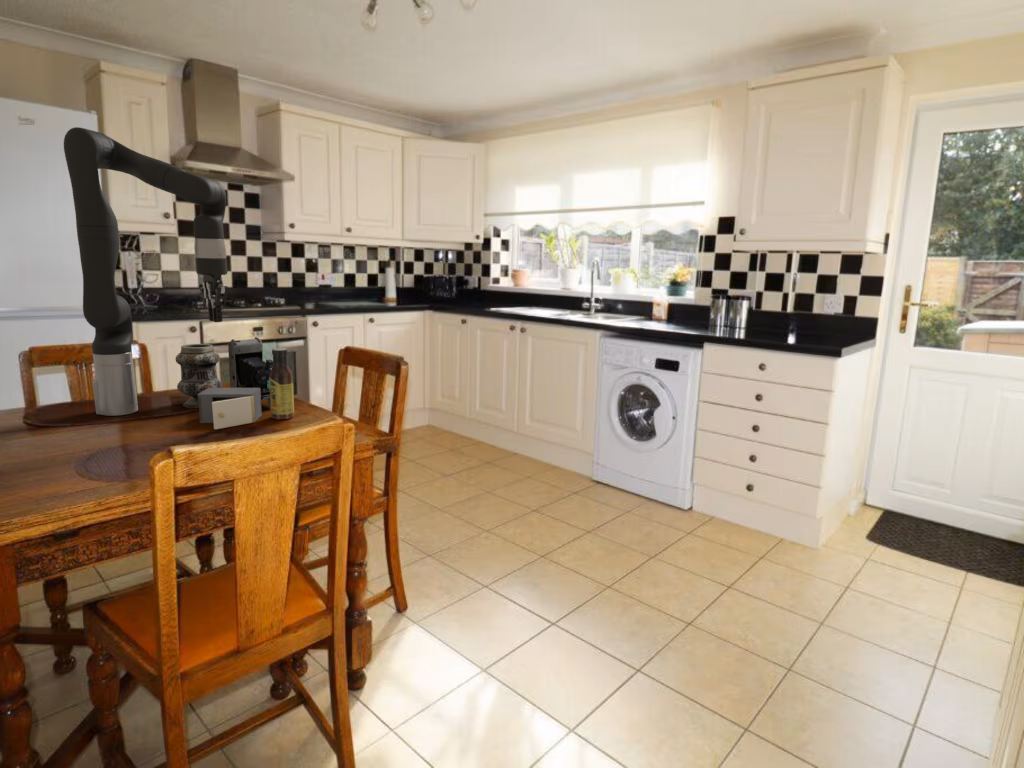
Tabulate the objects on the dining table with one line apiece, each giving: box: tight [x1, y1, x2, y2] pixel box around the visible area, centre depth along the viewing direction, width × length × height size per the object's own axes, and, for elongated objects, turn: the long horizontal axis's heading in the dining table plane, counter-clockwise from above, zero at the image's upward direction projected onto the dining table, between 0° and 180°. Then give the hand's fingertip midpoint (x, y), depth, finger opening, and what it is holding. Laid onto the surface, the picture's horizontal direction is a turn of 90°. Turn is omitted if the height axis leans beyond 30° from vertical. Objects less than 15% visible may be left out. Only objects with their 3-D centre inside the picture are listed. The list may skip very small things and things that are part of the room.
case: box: [198, 387, 263, 424], centre depth 169 cm, size 14×8×8 cm, turn 97°
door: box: [212, 396, 256, 430], centre depth 161 cm, size 11×2×7 cm, turn 137°
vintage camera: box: [228, 336, 273, 410], centre depth 183 cm, size 10×16×20 cm, turn 53°
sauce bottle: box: [268, 347, 295, 421], centre depth 170 cm, size 7×6×20 cm
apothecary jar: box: [175, 343, 223, 409], centre depth 183 cm, size 12×12×18 cm
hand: (215, 321), depth 166 cm, fingers closed
